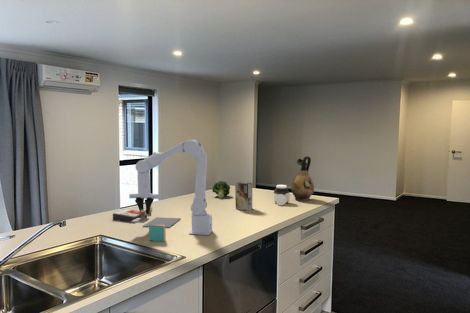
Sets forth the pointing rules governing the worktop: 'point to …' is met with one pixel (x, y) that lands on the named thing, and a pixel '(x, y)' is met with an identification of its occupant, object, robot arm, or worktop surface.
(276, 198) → the spread jar
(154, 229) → the tile
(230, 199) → the worktop surface
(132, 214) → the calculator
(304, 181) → the ceramic jug
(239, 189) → the coffee box
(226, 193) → the vegetable
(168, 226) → the mat
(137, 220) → the beige long bar
